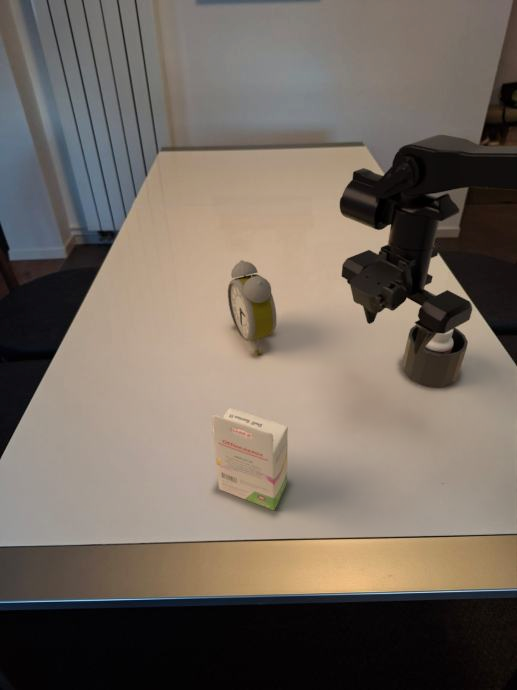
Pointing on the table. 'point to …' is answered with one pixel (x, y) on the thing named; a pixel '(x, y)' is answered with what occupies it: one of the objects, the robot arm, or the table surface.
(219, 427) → the white medicine box
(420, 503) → the table surface
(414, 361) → the pen holder
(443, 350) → the pill bottle
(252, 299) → the alarm clock
